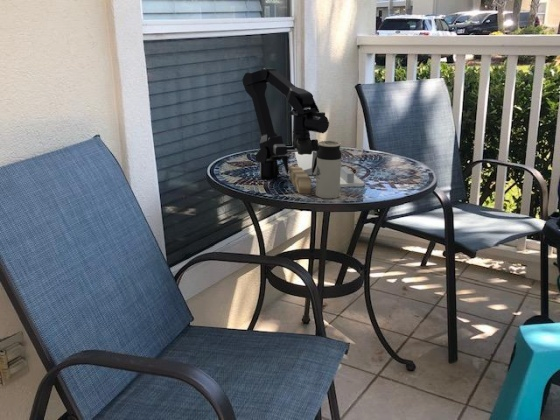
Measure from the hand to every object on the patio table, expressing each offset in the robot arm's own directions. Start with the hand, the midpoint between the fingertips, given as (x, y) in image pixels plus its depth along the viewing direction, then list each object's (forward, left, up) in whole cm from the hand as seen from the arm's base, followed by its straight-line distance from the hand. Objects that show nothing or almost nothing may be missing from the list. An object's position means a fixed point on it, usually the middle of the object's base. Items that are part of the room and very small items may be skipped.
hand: (300, 173), depth 201 cm
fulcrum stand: (+18, +3, -5) cm, 19 cm away
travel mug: (+7, -13, -5) cm, 15 cm away
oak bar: (0, 0, -5) cm, 5 cm away
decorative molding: (+11, +31, -6) cm, 33 cm away
